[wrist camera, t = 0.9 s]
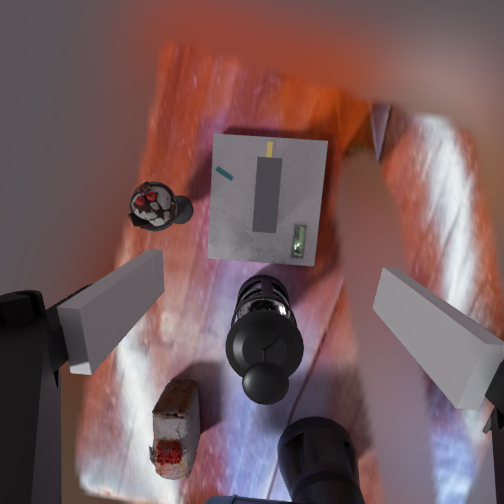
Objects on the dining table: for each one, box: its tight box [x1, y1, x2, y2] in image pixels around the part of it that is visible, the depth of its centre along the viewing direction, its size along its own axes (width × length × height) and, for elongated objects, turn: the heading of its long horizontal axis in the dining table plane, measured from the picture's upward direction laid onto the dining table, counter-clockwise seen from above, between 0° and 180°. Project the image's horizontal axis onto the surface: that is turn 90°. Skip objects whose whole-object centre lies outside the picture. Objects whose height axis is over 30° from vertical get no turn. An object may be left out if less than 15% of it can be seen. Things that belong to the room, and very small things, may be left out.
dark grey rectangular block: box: [252, 141, 282, 233], centre depth 33 cm, size 14×3×9 cm, turn 176°
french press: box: [226, 275, 304, 405], centre depth 32 cm, size 12×9×23 cm
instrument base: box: [208, 134, 328, 266], centre depth 39 cm, size 20×18×5 cm
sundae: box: [128, 182, 193, 231], centre depth 34 cm, size 7×7×15 cm
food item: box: [149, 380, 200, 480], centre depth 42 cm, size 14×8×10 cm, turn 1°
